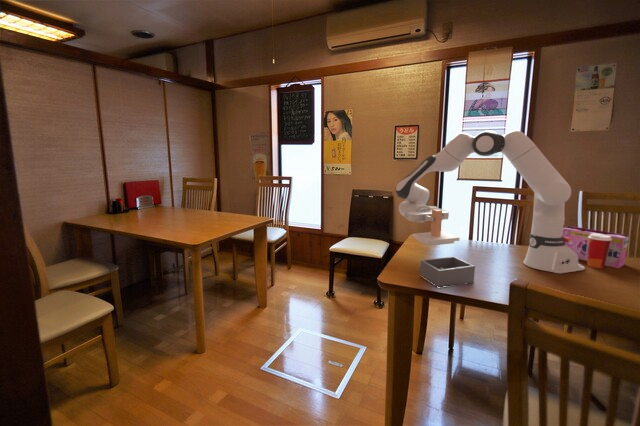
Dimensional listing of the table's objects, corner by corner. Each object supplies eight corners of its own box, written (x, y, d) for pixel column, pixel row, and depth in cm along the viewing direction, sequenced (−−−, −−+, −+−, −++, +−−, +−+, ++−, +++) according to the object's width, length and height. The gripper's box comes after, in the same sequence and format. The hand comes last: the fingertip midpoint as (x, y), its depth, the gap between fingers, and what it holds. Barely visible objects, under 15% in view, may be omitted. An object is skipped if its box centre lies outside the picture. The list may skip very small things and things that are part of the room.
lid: (441, 236, 154) (443, 206, 151) (459, 243, 142) (461, 211, 139) (412, 239, 149) (413, 208, 146) (427, 247, 138) (429, 213, 135)
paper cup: (598, 263, 141) (602, 233, 138) (612, 269, 133) (617, 237, 130) (579, 262, 141) (583, 232, 139) (592, 269, 134) (597, 237, 131)
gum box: (554, 254, 154) (557, 227, 152) (561, 251, 158) (565, 225, 156) (618, 268, 134) (624, 238, 132) (625, 265, 138) (630, 235, 136)
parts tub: (452, 272, 133) (453, 256, 132) (473, 283, 122) (475, 265, 120) (419, 276, 129) (420, 260, 128) (438, 288, 118) (439, 270, 116)
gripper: (401, 208, 152) (418, 213, 139) (438, 206, 158) (456, 210, 145) (401, 221, 154) (417, 227, 141) (437, 218, 159) (455, 224, 146)
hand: (437, 219), depth 143 cm, fingers closed on lid, 2 cm apart
